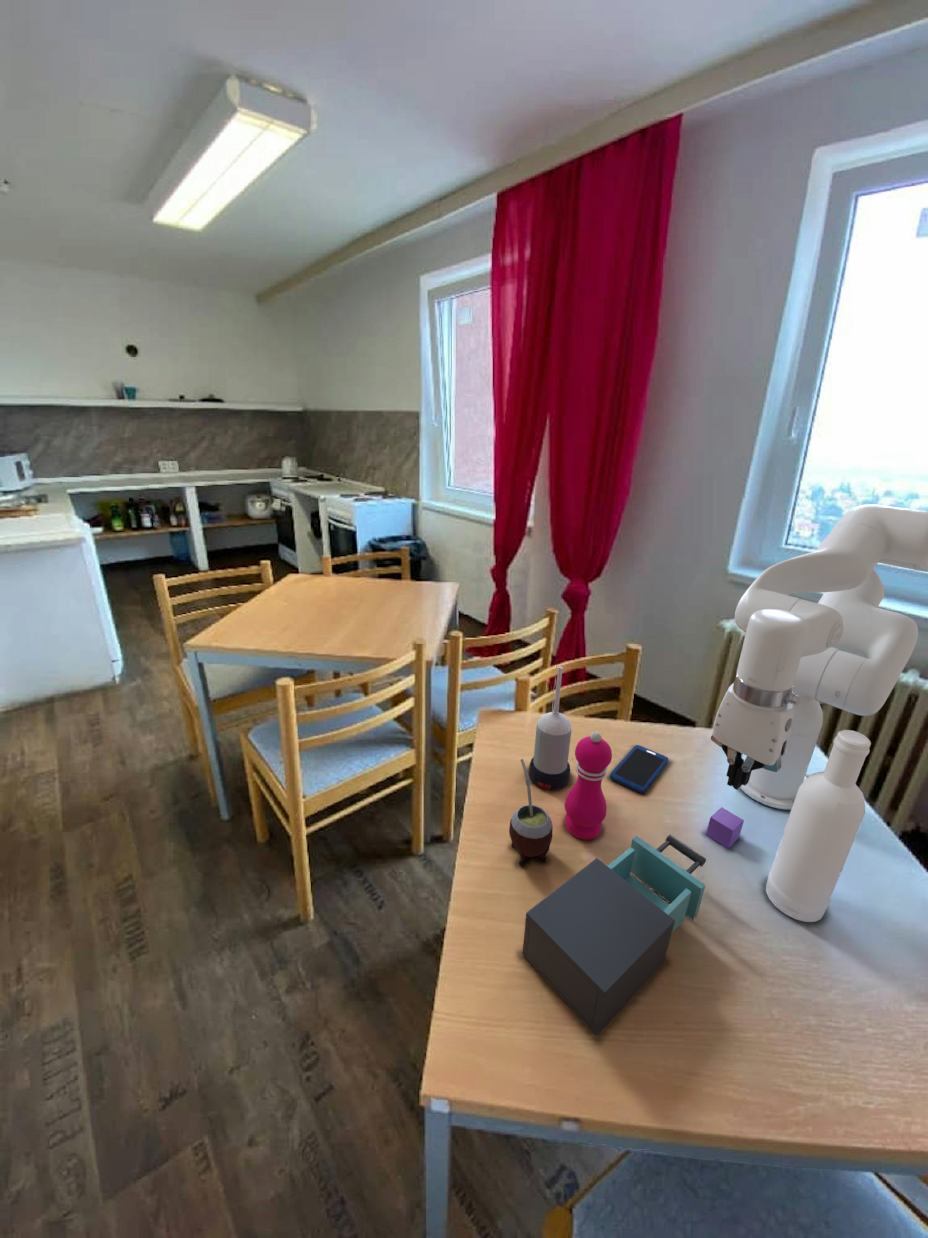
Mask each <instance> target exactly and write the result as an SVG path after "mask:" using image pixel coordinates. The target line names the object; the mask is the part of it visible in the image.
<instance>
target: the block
mask: <svg viewBox="0 0 928 1238" xmlns="http://www.w3.org/2000/svg"><path fill="white" fill-rule="evenodd" d="M744 823H745V819H743V818H741V817H739V816H738V815H736V814H734V813H733V812H730V811H729V810H728V809H726V808H724V807H722V806H721V807H720V808H719V809H718V810H717V811H716V812H714V813H713V814H712V815H711V816H710V817H709V821H708V825H707V829H706V832H705V835H706V836H707V837H708V838H710V839H712V840H714V841H715V842H717V843H719V844H720V845H722V846H723V847H725V848H726V849H729V848H730V847H731V846H732V845H733V844H734V843H735V842H737V840H738V839H740V836H741V833H742V830H743V825H744Z"/></svg>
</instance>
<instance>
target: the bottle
mask: <svg viewBox="0 0 928 1238" xmlns="http://www.w3.org/2000/svg"><path fill="white" fill-rule="evenodd" d="M832 742H833V745H832V748H831V751H830V753H829V756H828V759H827V762H826V764H825V768H824V771H819V772H814V773H811V774H809V775H810V776H809V777H808V778H807V779H806V780H805V781H804V782H803V783H802V784H801V785H800V787H799V789H798V792H797V795H796V798H795V801H794V804H793V807H792V810H790V812H789V816H788V817H787V818H788V819H787V821H786V823H785V824H786V825H785V828H784V831H783V833H782V836H781V840H780V842H779V845H778V848H777V851H776V854H775V856H774V860H773V863H772V866H771V869H770V870H769V873H768V875H767V881H766V884H765V892H766V895H767V897H768V899H769V901H770V902H771V903H772V904H773V905H774V906H775V908H776V909H778V910H779V911H781V913H783V914H785V915H787V916H788V917H790V918H792V919H794V920H796V921H800V922H805V923H816V922H818V921H820V920H822V918H823V916H824V914H825V912H826V911H827V909H828V907H829V905H830V903H831V898H832V895H833V893H834V891H835V888H836V886H837V883H838V881H839V878H840V877H841V874H842V872H843V869H844V866H845V864H846V861H847V859H848V857H849V854H850V851H851V849H852V847H853V844H854V842H855V839H856V837H857V834H858V832H859V829H860V827H861V825H862V823H863V819H864V817H865V815H866V803H865V797H864V796H865V795H864V793H863V791H862V790H861V789H860V787H859V786H858V785H857V781H858V778H859V776H860V773H861V770H862V767H863V766H864V762H865V760H866V757H867V756H868V755H869V754H870V751H871V750H870V748H871V745H872V742H871V740H870V739H869V738H868V737H867V736H866V735H864V734H863V733H861V732H858V731H855V730H852V729H842V730H839V731H838V732H837V734H836V736H835V737H834V738H833V740H832Z"/></svg>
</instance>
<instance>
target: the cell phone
mask: <svg viewBox="0 0 928 1238" xmlns="http://www.w3.org/2000/svg"><path fill="white" fill-rule="evenodd" d="M668 762H669V757H667V756H665V755H663V754H661V753H658V752H657V751H654V750H652V749H649V748H647V747H645V746H642V745H639V744H635V745H634V746H633V747H632V748H631V749H630V751H629V752H628V753H627V754H626V755H625V757H623V758H622V759H621V761H620V762H619V763H618V764H617V765H616V766H615V767H614V768H613V770H612V771H611V772H610V774H609V778H610V779H611V780H612V781H615V782H616V783H619V784H621V785H623V786H625V787H627V788H630V789H631V790H633V791H635V792H637V793H640V794H644V793H646V791H647V790H648V789H649V788H650V787H651V785H652V784H653V782H654V781H655V780H656V779H657V777H658V775H659V774H660V773H661V772H662V770H663V769H664V768H665V766H666V765H667V764H668Z"/></svg>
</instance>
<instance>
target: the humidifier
mask: <svg viewBox="0 0 928 1238" xmlns="http://www.w3.org/2000/svg"><path fill="white" fill-rule="evenodd" d="M555 672H557V675H555V676H554V686H553V689H552V690H553V693H552V694H553V695H552V701H554V702H553V703H552V707H551V711H549V712H547V713H545V714H543V715H541V716H540V717H539V719H538V720H537V722H536V728H535V737H534V738H535V739H534V751H533V757H532V758H531V759H530V762H529V768H528V775H529V778H530V782H531V783H533V784H534V786H536V787H537V788H540V789H542V790H547V791H558V790H562V789H564V788H566V786H568V784H569V783H570V776H571V765H570V763H569V756H570V755H569V754H570V746H571V740H572V739H571V738H572V724H571V722H570V720H569V719H568V718H567V716H565V715H564V714H563V713H561V712H560V711H559V710H560V700H561V699H560V698H561V687H562V678H563V666H558V664H556V667H555Z"/></svg>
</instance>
